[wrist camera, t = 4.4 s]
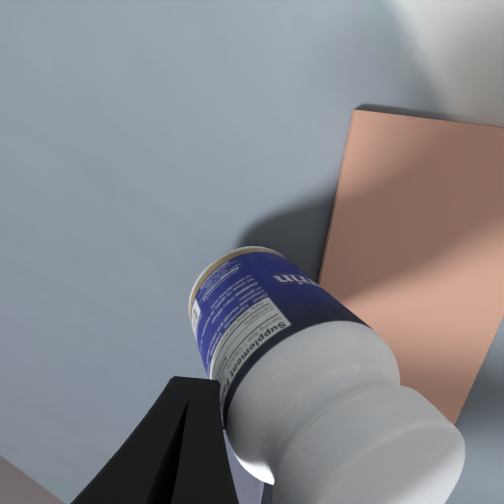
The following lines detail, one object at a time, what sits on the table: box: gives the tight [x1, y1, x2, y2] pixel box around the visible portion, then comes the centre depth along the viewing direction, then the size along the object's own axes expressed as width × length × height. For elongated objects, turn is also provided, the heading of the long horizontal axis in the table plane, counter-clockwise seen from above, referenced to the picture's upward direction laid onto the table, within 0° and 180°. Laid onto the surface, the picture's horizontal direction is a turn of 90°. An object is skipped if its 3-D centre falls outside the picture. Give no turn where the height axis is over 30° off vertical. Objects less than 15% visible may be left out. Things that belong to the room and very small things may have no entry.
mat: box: [318, 110, 504, 425], centre depth 17 cm, size 18×10×1 cm, turn 174°
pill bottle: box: [189, 246, 466, 504], centre depth 11 cm, size 6×6×10 cm
